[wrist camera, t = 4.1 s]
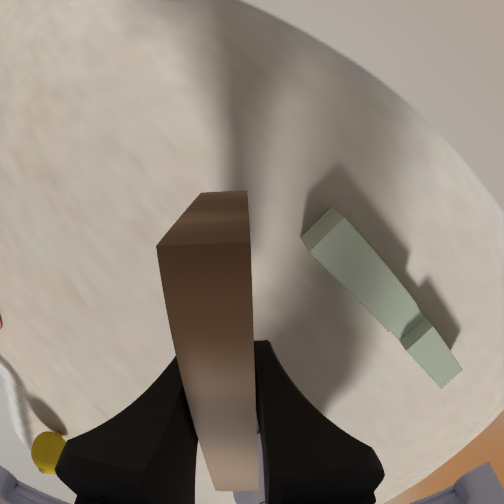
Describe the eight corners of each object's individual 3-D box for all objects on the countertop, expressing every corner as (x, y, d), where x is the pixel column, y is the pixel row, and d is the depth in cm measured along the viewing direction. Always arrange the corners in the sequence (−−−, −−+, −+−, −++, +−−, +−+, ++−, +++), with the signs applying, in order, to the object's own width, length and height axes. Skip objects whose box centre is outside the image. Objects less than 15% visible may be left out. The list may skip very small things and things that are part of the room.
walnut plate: (254, 391, 17) (258, 490, 10) (221, 392, 17) (215, 490, 10) (247, 190, 13) (250, 242, 6) (201, 192, 13) (156, 245, 6)
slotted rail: (429, 371, 26) (441, 388, 23) (300, 237, 20) (309, 252, 18) (449, 353, 25) (462, 369, 23) (331, 206, 20) (344, 217, 17)
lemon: (38, 416, 29) (17, 455, 21) (68, 427, 29) (49, 470, 21) (51, 437, 30) (34, 474, 23) (80, 447, 31) (65, 487, 23)
